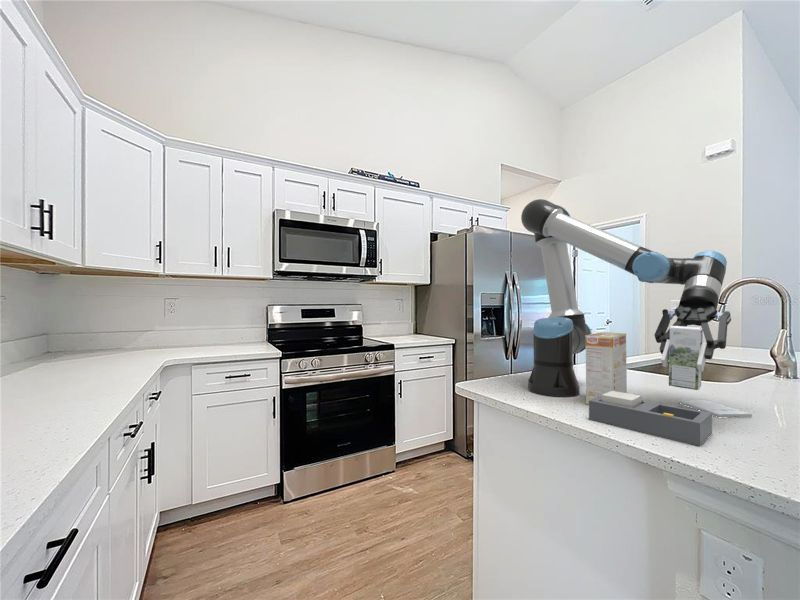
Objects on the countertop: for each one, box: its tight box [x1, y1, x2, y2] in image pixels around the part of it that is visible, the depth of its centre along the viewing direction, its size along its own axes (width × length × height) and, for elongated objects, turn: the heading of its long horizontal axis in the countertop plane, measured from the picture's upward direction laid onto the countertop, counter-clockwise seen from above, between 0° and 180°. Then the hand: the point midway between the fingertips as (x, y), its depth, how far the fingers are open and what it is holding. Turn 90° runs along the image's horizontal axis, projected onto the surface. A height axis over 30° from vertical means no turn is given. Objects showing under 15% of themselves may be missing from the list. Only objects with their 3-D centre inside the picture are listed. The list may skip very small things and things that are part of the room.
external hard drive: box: [678, 399, 753, 419], centre depth 93 cm, size 2×8×12 cm
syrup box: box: [668, 325, 704, 391], centre depth 85 cm, size 6×6×14 cm
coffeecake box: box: [585, 331, 628, 406], centre depth 101 cm, size 15×7×20 cm, turn 134°
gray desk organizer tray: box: [588, 391, 713, 447], centre depth 81 cm, size 21×11×6 cm, turn 39°
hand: (681, 365), depth 83 cm, fingers closed on syrup box, 6 cm apart
